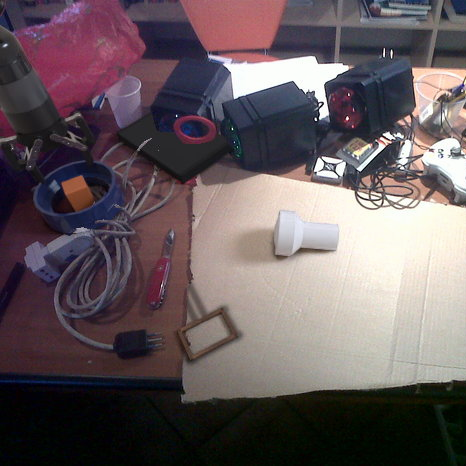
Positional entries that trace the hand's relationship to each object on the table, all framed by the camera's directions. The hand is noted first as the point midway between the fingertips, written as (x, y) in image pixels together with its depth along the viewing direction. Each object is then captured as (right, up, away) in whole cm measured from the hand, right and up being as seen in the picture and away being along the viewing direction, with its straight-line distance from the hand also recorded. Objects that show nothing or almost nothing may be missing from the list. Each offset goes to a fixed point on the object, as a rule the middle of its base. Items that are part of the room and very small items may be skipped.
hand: (66, 172), depth 90 cm
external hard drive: (+15, +8, +19) cm, 25 cm away
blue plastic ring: (0, -6, +7) cm, 10 cm away
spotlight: (+44, -14, -1) cm, 46 cm away
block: (0, -6, +7) cm, 9 cm away
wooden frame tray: (+26, -24, -9) cm, 37 cm away
